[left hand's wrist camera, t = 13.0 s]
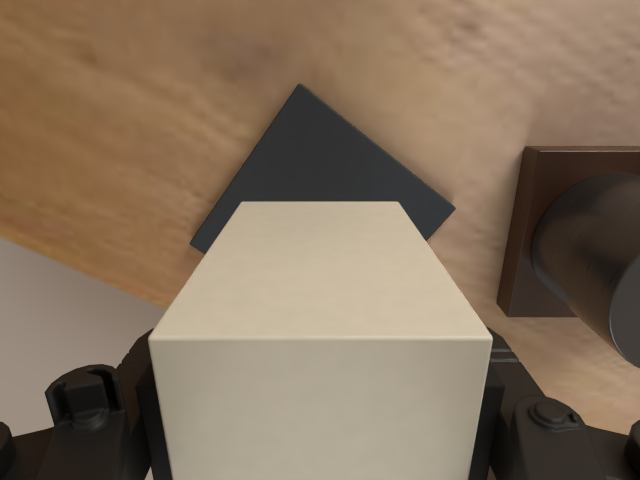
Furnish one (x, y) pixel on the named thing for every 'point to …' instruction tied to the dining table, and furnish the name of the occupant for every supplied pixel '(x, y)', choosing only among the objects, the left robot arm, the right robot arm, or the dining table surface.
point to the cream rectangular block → (320, 351)
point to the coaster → (322, 170)
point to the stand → (577, 241)
